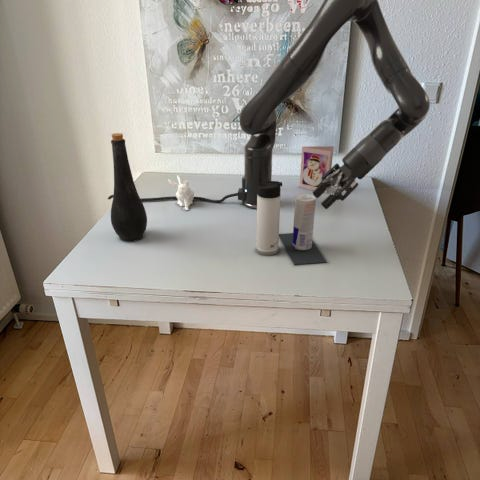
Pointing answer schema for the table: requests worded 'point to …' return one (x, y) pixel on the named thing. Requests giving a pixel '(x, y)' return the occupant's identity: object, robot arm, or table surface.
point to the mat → (301, 252)
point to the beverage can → (303, 222)
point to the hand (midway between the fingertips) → (318, 201)
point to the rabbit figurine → (183, 193)
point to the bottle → (125, 196)
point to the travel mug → (268, 217)
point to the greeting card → (315, 166)
